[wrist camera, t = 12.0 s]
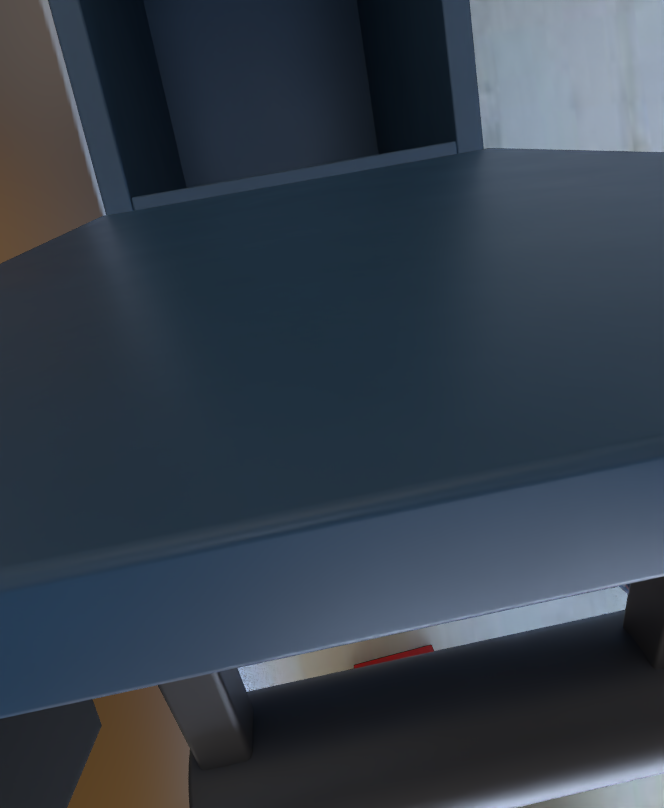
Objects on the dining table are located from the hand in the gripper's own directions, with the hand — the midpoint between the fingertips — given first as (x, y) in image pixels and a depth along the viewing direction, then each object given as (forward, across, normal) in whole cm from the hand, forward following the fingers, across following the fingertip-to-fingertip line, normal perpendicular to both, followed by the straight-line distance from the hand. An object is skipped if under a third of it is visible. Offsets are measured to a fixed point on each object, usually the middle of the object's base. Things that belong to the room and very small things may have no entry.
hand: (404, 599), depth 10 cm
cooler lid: (+2, 0, +8) cm, 8 cm away
